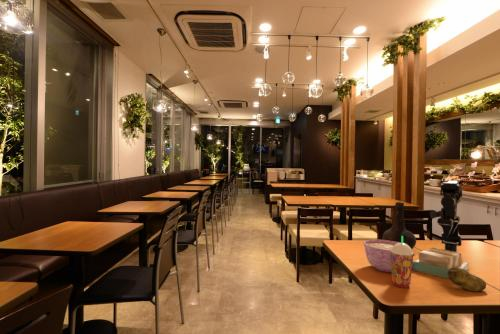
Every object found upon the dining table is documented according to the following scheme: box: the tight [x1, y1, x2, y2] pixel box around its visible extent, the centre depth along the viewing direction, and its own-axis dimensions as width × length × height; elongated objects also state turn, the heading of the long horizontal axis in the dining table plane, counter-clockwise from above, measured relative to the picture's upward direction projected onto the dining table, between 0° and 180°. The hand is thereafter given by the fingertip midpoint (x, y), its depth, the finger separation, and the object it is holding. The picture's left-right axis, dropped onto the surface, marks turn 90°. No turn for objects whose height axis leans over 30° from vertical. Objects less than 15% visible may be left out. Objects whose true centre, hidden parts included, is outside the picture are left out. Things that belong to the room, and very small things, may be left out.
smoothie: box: [391, 236, 415, 289], centre depth 125 cm, size 8×8×20 cm
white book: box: [412, 258, 469, 280], centre depth 146 cm, size 23×18×4 cm
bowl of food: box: [363, 239, 399, 273], centre depth 144 cm, size 20×20×12 cm
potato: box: [447, 267, 487, 292], centre depth 122 cm, size 8×13×8 cm, turn 57°
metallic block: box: [418, 247, 462, 269], centre depth 145 cm, size 16×12×8 cm
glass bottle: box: [381, 201, 417, 250], centre depth 178 cm, size 18×18×28 cm
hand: (448, 236), depth 159 cm, fingers open, 9 cm apart
